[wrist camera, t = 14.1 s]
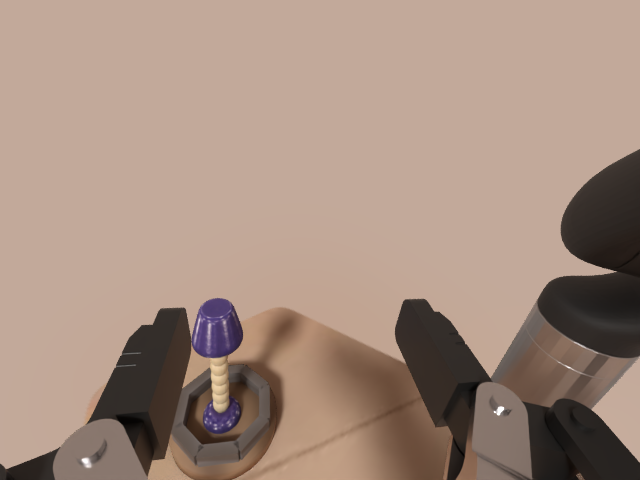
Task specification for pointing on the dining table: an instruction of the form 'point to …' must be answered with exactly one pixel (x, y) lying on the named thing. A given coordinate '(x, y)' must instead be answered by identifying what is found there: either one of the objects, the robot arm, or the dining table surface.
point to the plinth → (233, 446)
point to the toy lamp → (218, 360)
